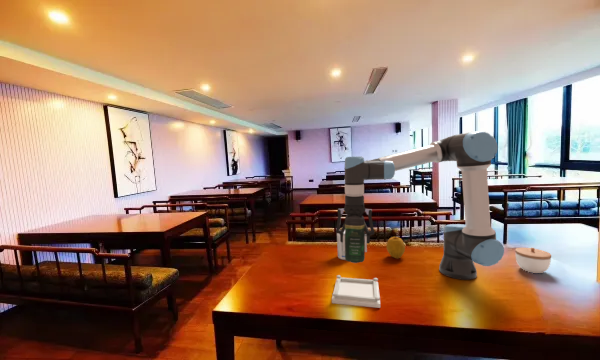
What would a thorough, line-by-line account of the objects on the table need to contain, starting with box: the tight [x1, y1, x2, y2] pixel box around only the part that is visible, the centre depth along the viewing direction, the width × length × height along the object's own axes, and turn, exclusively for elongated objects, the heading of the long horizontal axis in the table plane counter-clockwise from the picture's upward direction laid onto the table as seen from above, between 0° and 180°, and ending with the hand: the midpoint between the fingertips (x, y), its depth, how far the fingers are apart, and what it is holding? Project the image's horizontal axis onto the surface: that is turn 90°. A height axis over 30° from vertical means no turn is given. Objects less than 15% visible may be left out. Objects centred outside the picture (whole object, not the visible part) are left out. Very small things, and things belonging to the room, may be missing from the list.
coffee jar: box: [344, 214, 366, 264], centre depth 106 cm, size 10×8×19 cm
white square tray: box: [331, 274, 381, 309], centre depth 108 cm, size 18×18×3 cm
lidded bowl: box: [514, 247, 552, 274], centre depth 123 cm, size 13×13×11 cm
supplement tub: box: [336, 231, 346, 261], centre depth 148 cm, size 10×10×15 cm
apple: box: [386, 236, 406, 260], centre depth 145 cm, size 10×10×12 cm
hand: (355, 250), depth 106 cm, fingers closed on coffee jar, 8 cm apart
